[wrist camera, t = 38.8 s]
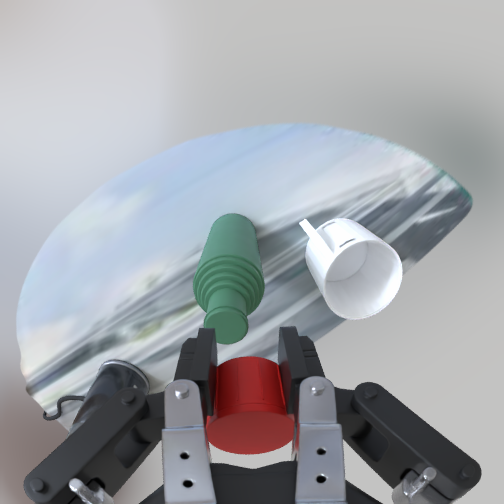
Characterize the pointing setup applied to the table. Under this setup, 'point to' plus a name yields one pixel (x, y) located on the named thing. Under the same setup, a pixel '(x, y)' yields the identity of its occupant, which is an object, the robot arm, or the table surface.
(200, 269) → the bottle
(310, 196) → the table surface
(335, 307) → the mug
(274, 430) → the cap
